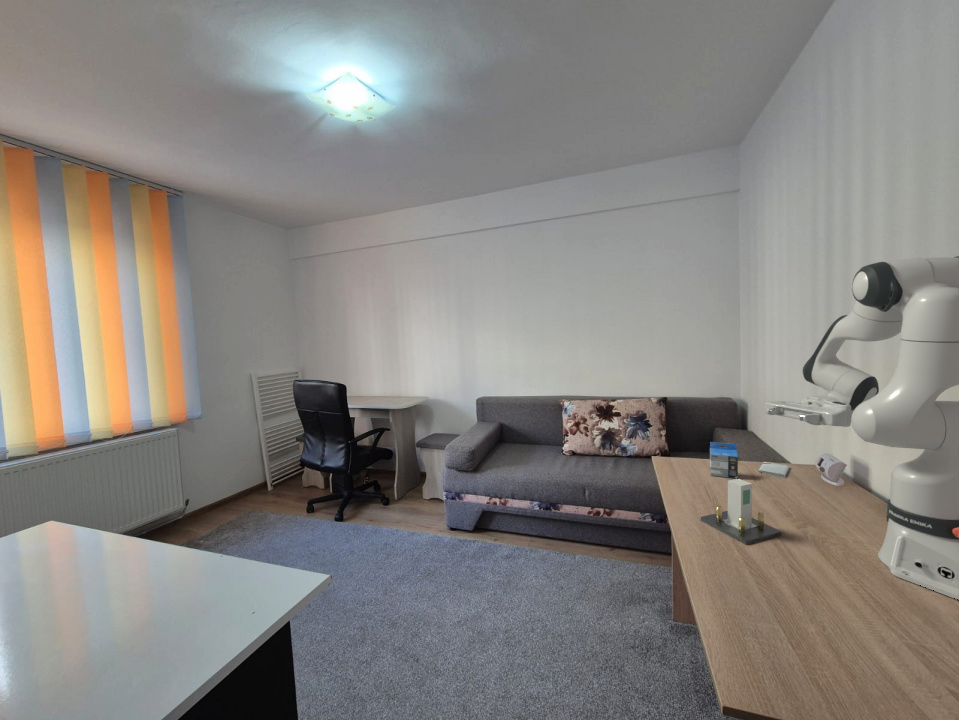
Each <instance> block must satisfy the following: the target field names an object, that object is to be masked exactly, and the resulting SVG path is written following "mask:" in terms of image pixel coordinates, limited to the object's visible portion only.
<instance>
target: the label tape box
mask: <svg viewBox="0 0 959 720" xmlns="http://www.w3.org/2000/svg"><path fill="white" fill-rule="evenodd" d="M709 444H710V445H709V474H710V476H711V477H721V478H731V479H737V478H738V477H739V456H738V450H737V448H738V447H737V446H738V445H737V443H727V442H716V441H715V442H714V441H710V442H709ZM723 446H724V447H723ZM738 479H739V478H738Z"/></svg>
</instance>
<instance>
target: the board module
mask: <svg viewBox="0 0 959 720" xmlns="http://www.w3.org/2000/svg"><path fill="white" fill-rule="evenodd" d="M752 505H753V483H752V482H749V481H746V480H743V479H740V478H738V479H737V478H733V479H730V480H727V511H728V522H730V523H732V524H734V525H736V526H738V527H739V517H744V518H745V527H747V526H751V525H752V518H753V517H752V514H753V512H752V511H753V509H752V508H753V506H752Z"/></svg>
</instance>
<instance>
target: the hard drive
mask: <svg viewBox="0 0 959 720" xmlns="http://www.w3.org/2000/svg"><path fill="white" fill-rule="evenodd" d="M763 463H771V464H763ZM763 463H762V464H761V465H760V467H759V469H757V473H758V472H762V473H761V474H763V473H766V474H765V475H768V474H771V475H770V476H773V475H775V476H774V477H778V478H784V479H785V478H786V476H787V474H788V472H789V470H790V466H789V465H788V464H780V463H774V462H770V461H769V462H768V461H763Z"/></svg>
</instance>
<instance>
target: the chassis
mask: <svg viewBox="0 0 959 720" xmlns="http://www.w3.org/2000/svg"><path fill="white" fill-rule="evenodd" d="M700 521H702V522H704V523H705V524H707V525H709V526H711V527H712V528H714V529H716V530H718V531H720V532H721V533H723V534H725V535H728V536H729V537H731V538H733V539H735V540H736V541H738V542H740V543H742V544H744V545H749V544H754V543H757V542H761V541H764V540H768V539H772V538H776V537H779V536H783V533H782V530H780V529H777V528H775V527H773V526H771V525H769V524H767V523H765V513H764V512H757V519H756V518H753V517H752V525H751V526H747V527H745V518H744V517H739V527H738V526H736V525H734V524H732V523H730V522H728V510H724V511H723V508H722V506H720V505H717V506H715V513H713V514H712V513H711V514H708V515H703V516H700Z"/></svg>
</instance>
